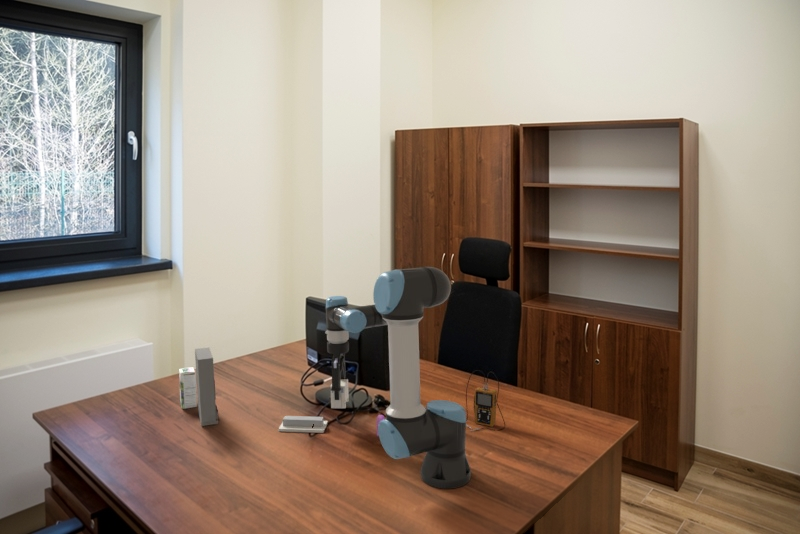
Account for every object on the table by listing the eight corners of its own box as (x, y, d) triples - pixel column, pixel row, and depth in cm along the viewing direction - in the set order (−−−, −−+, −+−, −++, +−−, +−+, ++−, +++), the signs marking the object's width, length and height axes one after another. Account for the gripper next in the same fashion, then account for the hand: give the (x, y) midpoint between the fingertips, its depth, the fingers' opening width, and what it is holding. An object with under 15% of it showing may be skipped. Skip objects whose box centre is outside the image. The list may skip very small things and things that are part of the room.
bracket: (391, 438, 224) (391, 419, 223) (376, 436, 226) (376, 417, 225) (404, 423, 236) (404, 405, 235) (389, 421, 238) (389, 403, 237)
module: (348, 400, 233) (348, 379, 232) (345, 408, 226) (344, 386, 225) (334, 400, 234) (334, 379, 232) (331, 408, 226) (330, 386, 225)
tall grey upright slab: (219, 424, 236) (215, 357, 231) (201, 426, 233) (197, 360, 229) (214, 410, 248) (211, 347, 244) (198, 412, 246) (194, 348, 242)
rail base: (327, 423, 236) (327, 414, 236) (323, 432, 228) (323, 423, 228) (284, 422, 237) (283, 413, 237) (278, 431, 230) (278, 422, 229)
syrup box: (180, 404, 254) (177, 368, 252) (195, 401, 257) (193, 366, 254) (181, 409, 249) (179, 373, 246) (197, 406, 252) (195, 370, 249)
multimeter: (456, 429, 231) (457, 375, 228) (467, 419, 240) (468, 367, 236) (496, 437, 225) (497, 382, 221) (505, 426, 233) (507, 373, 230)
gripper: (332, 333, 237) (334, 393, 240) (321, 348, 216) (323, 414, 220) (352, 333, 236) (354, 393, 240) (343, 349, 216) (345, 414, 219)
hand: (339, 403), depth 230 cm, fingers closed on module, 8 cm apart
